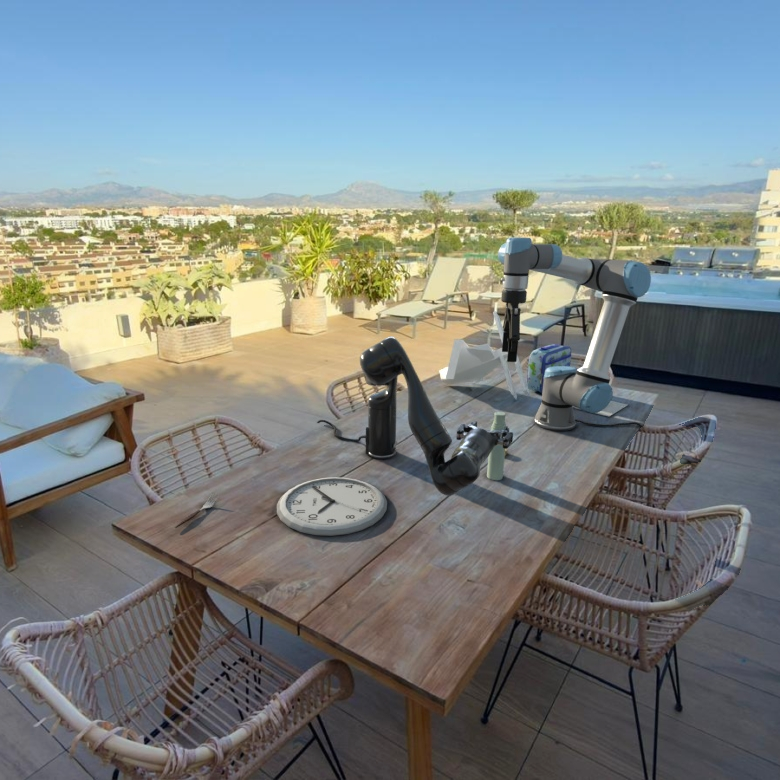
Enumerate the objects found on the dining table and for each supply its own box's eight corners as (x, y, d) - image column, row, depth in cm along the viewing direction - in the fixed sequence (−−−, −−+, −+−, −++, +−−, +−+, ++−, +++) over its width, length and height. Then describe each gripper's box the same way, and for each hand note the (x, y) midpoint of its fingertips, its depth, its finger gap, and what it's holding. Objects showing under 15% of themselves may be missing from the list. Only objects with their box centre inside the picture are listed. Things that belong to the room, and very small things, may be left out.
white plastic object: (461, 429, 252) (437, 405, 227) (444, 352, 274) (420, 323, 250) (535, 404, 240) (518, 377, 215) (510, 326, 262) (492, 293, 237)
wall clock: (392, 527, 129) (268, 531, 127) (391, 533, 130) (269, 537, 127) (383, 473, 158) (282, 475, 155) (383, 478, 158) (282, 480, 156)
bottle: (503, 480, 158) (509, 416, 152) (487, 479, 159) (492, 415, 153) (501, 473, 163) (507, 411, 157) (486, 472, 163) (491, 410, 157)
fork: (171, 528, 130) (170, 521, 130) (212, 499, 145) (211, 492, 144) (179, 530, 129) (178, 523, 129) (220, 500, 144) (219, 494, 143)
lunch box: (543, 396, 238) (548, 352, 231) (522, 391, 245) (526, 347, 239) (570, 385, 255) (575, 343, 249) (550, 381, 262) (555, 340, 256)
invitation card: (608, 416, 214) (573, 407, 224) (608, 416, 214) (573, 408, 224) (628, 404, 229) (594, 396, 238) (628, 405, 229) (594, 397, 238)
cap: (508, 453, 178) (509, 448, 177) (503, 457, 175) (503, 452, 174) (496, 449, 180) (497, 445, 180) (491, 454, 177) (491, 449, 177)
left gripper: (504, 439, 127) (517, 418, 142) (448, 429, 133) (466, 410, 147) (502, 467, 130) (515, 443, 144) (447, 456, 135) (465, 434, 149)
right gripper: (497, 284, 173) (492, 347, 180) (507, 294, 149) (501, 365, 156) (520, 285, 173) (515, 348, 179) (534, 294, 149) (527, 366, 155)
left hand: (490, 426), depth 145 cm, fingers open, 8 cm apart
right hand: (508, 356), depth 167 cm, fingers open, 13 cm apart
